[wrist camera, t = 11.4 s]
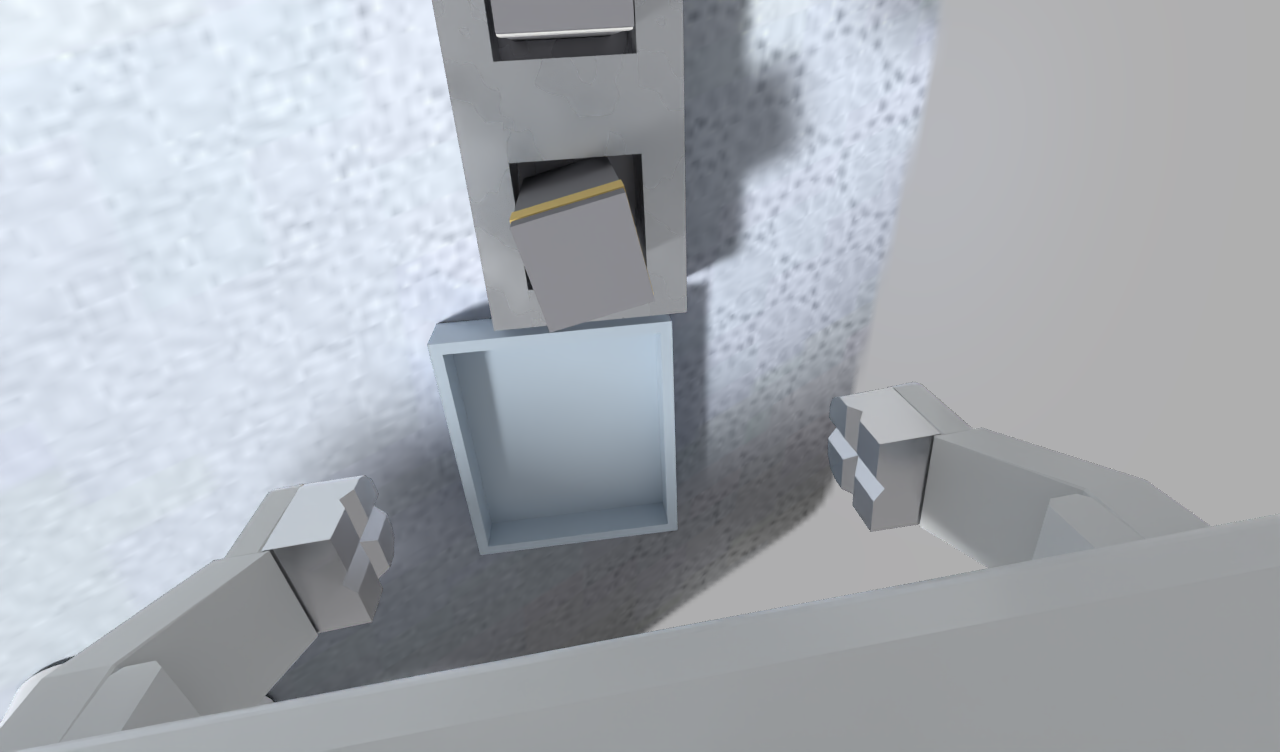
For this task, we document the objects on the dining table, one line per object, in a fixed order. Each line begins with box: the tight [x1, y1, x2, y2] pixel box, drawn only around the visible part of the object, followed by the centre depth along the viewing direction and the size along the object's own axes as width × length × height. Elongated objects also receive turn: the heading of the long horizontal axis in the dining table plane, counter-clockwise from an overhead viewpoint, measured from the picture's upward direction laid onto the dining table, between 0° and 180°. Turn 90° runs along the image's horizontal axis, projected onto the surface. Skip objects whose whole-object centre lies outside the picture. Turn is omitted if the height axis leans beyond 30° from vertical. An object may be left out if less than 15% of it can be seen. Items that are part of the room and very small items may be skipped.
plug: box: [509, 156, 655, 333], centre depth 24 cm, size 4×4×9 cm
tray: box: [427, 314, 678, 555], centre depth 33 cm, size 14×12×3 cm
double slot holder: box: [432, 0, 687, 331], centre depth 25 cm, size 18×9×4 cm, turn 3°
